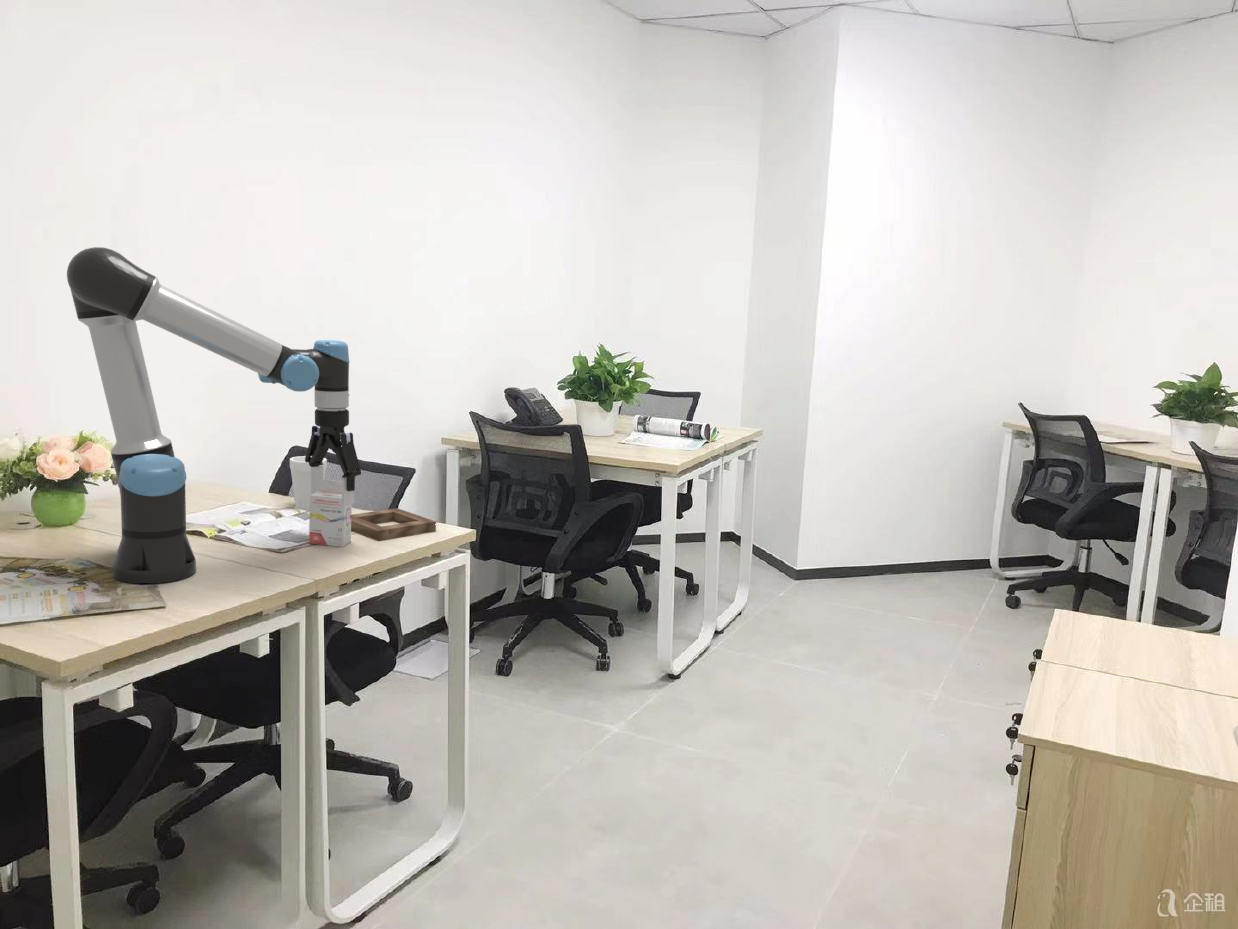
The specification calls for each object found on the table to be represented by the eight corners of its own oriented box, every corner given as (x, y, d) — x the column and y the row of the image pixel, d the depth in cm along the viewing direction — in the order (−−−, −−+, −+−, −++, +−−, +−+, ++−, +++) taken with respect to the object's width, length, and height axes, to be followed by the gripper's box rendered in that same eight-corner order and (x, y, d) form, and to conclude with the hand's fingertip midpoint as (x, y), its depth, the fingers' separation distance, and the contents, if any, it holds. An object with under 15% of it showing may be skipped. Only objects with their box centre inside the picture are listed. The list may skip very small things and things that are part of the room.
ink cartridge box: (308, 544, 218) (308, 482, 215) (316, 538, 223) (317, 478, 220) (343, 547, 217) (344, 485, 215) (351, 542, 222) (352, 481, 220)
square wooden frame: (377, 541, 224) (378, 530, 224) (339, 526, 236) (339, 516, 235) (435, 531, 237) (436, 521, 236) (396, 517, 248) (397, 508, 248)
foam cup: (288, 503, 256) (288, 456, 253) (323, 502, 260) (323, 455, 257) (291, 511, 247) (292, 462, 245) (328, 509, 251) (328, 462, 249)
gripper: (376, 414, 209) (376, 507, 213) (318, 401, 225) (319, 487, 229) (347, 416, 204) (347, 511, 207) (289, 402, 220) (290, 491, 224)
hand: (332, 499), depth 218 cm, fingers open, 13 cm apart
